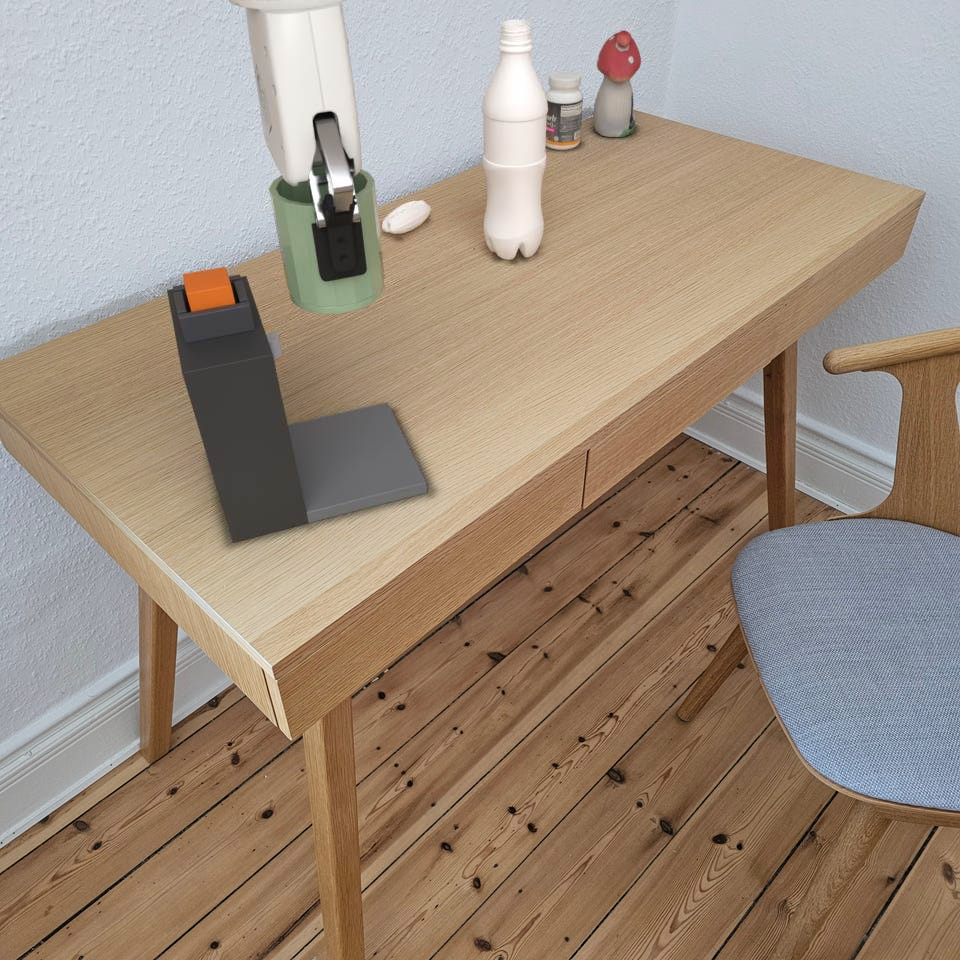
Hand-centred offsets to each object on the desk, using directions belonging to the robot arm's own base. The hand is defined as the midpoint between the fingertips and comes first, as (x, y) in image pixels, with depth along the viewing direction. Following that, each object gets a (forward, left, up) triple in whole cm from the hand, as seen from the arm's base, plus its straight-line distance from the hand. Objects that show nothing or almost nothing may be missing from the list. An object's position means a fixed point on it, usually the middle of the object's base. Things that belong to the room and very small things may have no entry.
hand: (330, 250), depth 61 cm
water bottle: (+27, +32, -20) cm, 46 cm away
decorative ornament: (+57, +64, -20) cm, 88 cm away
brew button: (-9, 0, -3) cm, 9 cm away
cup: (0, 0, -3) cm, 3 cm away
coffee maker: (-4, 0, -20) cm, 20 cm away
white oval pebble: (+17, +43, -20) cm, 50 cm away
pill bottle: (+47, +62, -20) cm, 80 cm away
